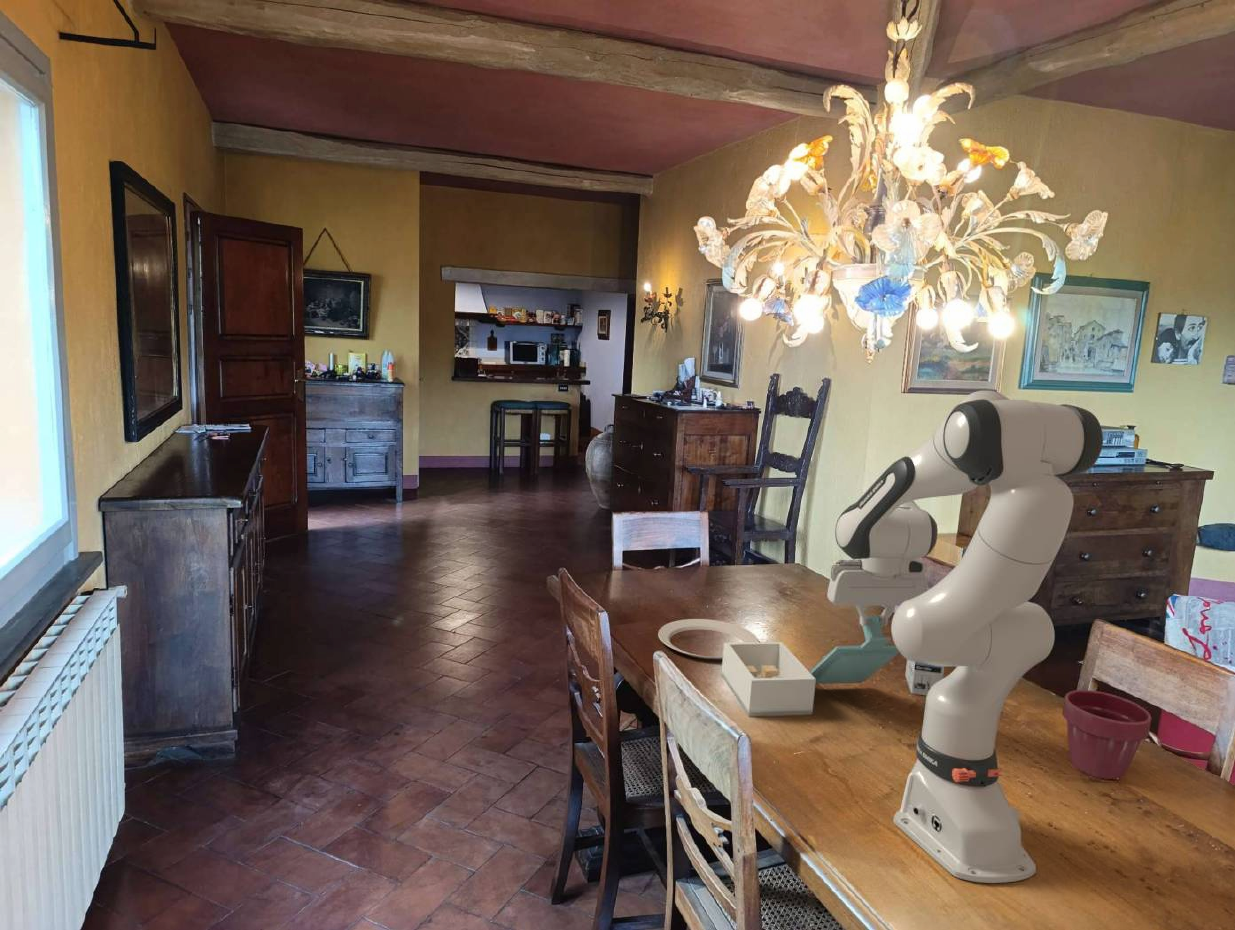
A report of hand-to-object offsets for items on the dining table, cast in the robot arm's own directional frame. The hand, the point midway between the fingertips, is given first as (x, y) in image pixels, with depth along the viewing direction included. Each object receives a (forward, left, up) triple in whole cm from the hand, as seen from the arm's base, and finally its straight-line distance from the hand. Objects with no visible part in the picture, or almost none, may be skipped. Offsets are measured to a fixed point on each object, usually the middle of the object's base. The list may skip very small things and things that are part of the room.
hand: (873, 624), depth 167 cm
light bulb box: (+15, -22, -21) cm, 34 cm away
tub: (+13, +17, -21) cm, 30 cm away
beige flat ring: (+42, +22, -22) cm, 52 cm away
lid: (+5, 0, -11) cm, 12 cm away
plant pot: (-21, -38, -21) cm, 48 cm away
